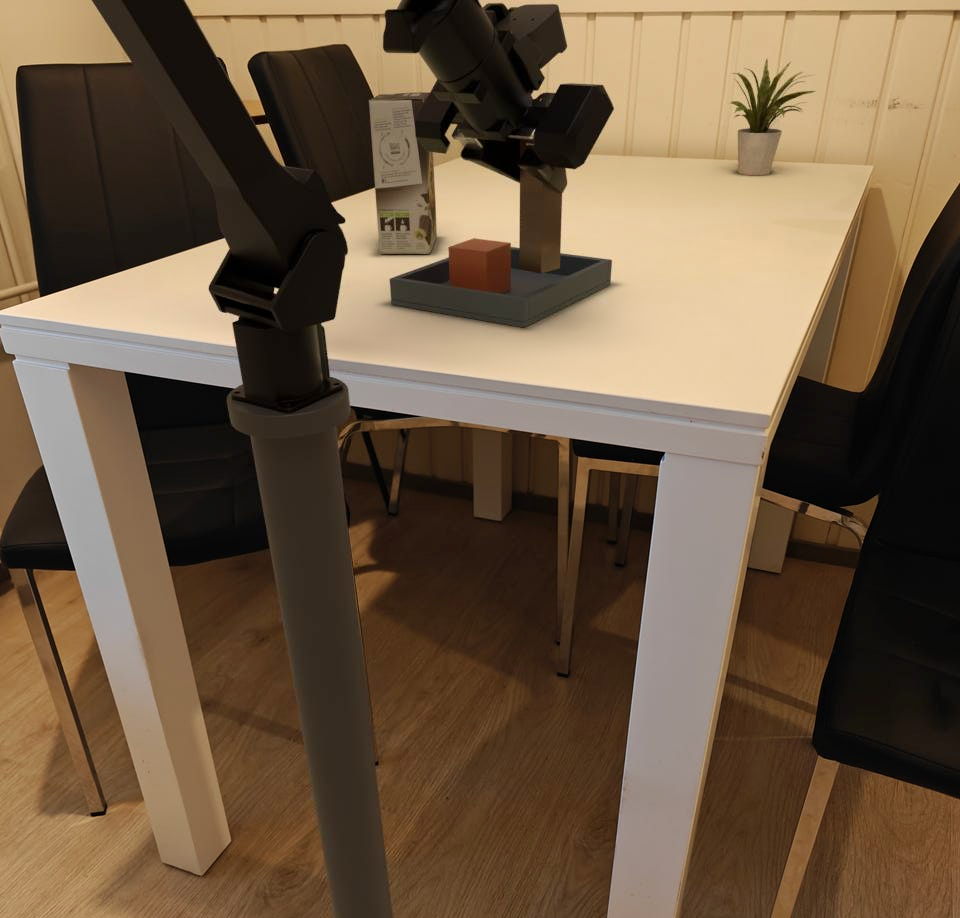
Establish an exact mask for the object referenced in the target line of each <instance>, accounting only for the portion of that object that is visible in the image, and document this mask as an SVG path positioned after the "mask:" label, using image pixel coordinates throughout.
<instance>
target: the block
mask: <svg viewBox="0 0 960 918" xmlns="http://www.w3.org/2000/svg"><path fill="white" fill-rule="evenodd" d="M511 247H512V243H511V242H507V241H500V240H499V241H498V240H491V239H482V238H475V237H474V238H471V239H468V240H465V241H462V242H459V243H456V244H453V245H450V246H448V258H449V274H450V286H455V287H461V288H467V289H474V290H480V291H487V292H493V293H499V294H502V293H504V292H506V291H509V290H511Z"/></svg>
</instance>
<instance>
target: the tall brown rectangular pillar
mask: <svg viewBox="0 0 960 918" xmlns="http://www.w3.org/2000/svg"><path fill="white" fill-rule="evenodd" d="M526 140H527V139H520V158H521V156H522V154H523V152H524V150H525V149H526V147H527V145H526V143H525V141H526ZM562 215H563V193H558V192H556V191H554V190H553V189H551V188H549V187H548V186H547V185H545V184H544V183H542V182H541V181H539V180H538V179H536V178H535V177H534V176H532V175H531V174H529V173H528V172H526V171H525V170H523V169H522V168H520V183H519V247H518V248H519V269H521V270H526V271H530V272H535V273H540V274H542V273H545V272H549V271H552V270H556V269H559V268H560V253H561V246H562V218H563V217H562Z"/></svg>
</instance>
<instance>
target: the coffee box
mask: <svg viewBox="0 0 960 918" xmlns="http://www.w3.org/2000/svg"><path fill="white" fill-rule="evenodd" d="M429 94H430V92H421V91H420V92H400V93H398V92H397V93H392V94H386V93H385V94H384V93H383V94H378V95H376V96H374V97H372V98H371V99H368V108H369V122H370V134H371V135H370V137H371V151H372V166H373V179H374V193H375V206H376V219H377V233H378V247H379V250H378V251H379V254H381V255H383V254H384V255H385V254H386V255H387V254H390V255H391V254H392V255H393V254H394V255H395V254H398V255H400V254H401V255H402V254H405V255H406V254H408V255H409V254H410V255H411V254H412V255H413V254H414V255H415V254H416V255H428V254H430V253H432V252H431V251H432V249H433V247H434V245H435V243H436V241H437V238H438V233H437V232H438V230H437V228H438V227H437V207H436V206H437V205H436V186H435V185H436V184H435V183H436V182H435V164H434V161H435V160H434V152H427V151H426V150H425V149H424V147H423V146H422V145H421V143H420V142H419V141H418V140H417V138H416V137H415V119H416V117H417V115H418V114H419V112H420V110H421V108H422V106H423V105H424V103H425V101H426V99H427V97H428V95H429Z"/></svg>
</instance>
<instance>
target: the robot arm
mask: <svg viewBox="0 0 960 918" xmlns="http://www.w3.org/2000/svg"><path fill="white" fill-rule="evenodd" d="M91 2H92V3H93V4H94V6H95V8H96V10H97V11H98V13H99V14H100V16H101V17H102V19H103V20H104V22H105V24H106V25H107V26H108V28H109V30H110V31H111V33H112V34H113V36H114V38H115V39H116V41H117V42H118V44H119V45H120V47H121V48H122V50H123V51H124V53H125V54H126V56H127V58H128V59H129V60H130V62H131V64H132V65H133V67H134V68H135V70H136V71H137V73H138V75H139V76H140V78H141V79H142V80H143V83H145V85H146V87H147V88H148V90H149V92H150V93H151V94H152V96H153V98H154V99H155V101H156V102H157V104H158V106H159V107H160V108H161V110H162V112H163V113H164V114H165V116H166V118H167V119H168V121H169V122H170V124H171V126H172V127H173V129H174V130H175V132H176V133H177V135H178V137H179V138H180V139H181V141H182V143H183V144H184V145H185V147H186V149H187V151H188V152H189V153H190V155H191V157H192V159H194V161H195V163H196V164H197V166H198V168H199V169H200V171H201V172H202V173H203V175H204V177H205V179H206V180H207V181H208V183H209V184H210V187H211V188H212V191H213V193H214V199H215V207H216V212H217V220H218V226H219V229H220V231H221V233H222V235H223V238H224V240H225V242H226V244H227V246H228V248H229V249H228V250H227V252H226V254H225V256H224V257H223V259H222V261H221V263H220V265H219V267H218V268H217V270H216V272H215V274H214V276H213V277H212V279H211V281H210V283H209V284H208V292H209V294H210V296H211V298H212V300H213V301H214V303H215V305H216V307H217V310H218V311H219V312H221V313H224V314H230V315H233V316H236V317H237V318H238V319H237V320H235V321H232V322H231V324H232V331H233V335H234V337H233V338H234V342H235V347H236V353H237V359H238V365H239V366H238V367H239V370H240V377H241V382H242V384H243V388H240V389H238V390H235V391H233V392H231V391H230V392H231V398H232V399H233V400H236V401H240V402H244V403H248V404H251V405H255V406H259V407H263V408H267V409H270V410H274V411H278V412H282V413H286V414H290V413H294V412H296V411H298V410H301V409H303V408H305V407H307V406H309V405H311V404H313V403H316V402H318V401H320V400H322V399H324V398H326V397H329V396H331V395H333V394H335V393H337V392H339V391H341V390H343V383H344V382H343V383H341V382H337V381H333V380H328V378H329V377H331V373H330V365H329V355H328V346H327V340H326V339H327V338H326V330H325V327H324V326H323V325H322V324H323V323H327V322H330V321H333V320H336V319H335V318H336V314H337V308H338V302H339V296H340V290H341V284H342V278H343V272H344V268H345V264H346V256H347V255H348V253H349V247H348V242H347V239H346V236H345V233H344V230H343V229H342V228H341V226H340V225H343V224H345V223H346V217H344V216H343V215H341V214H340V213H339V212H338V210H337V209H336V207H335V206H334V205H333V204H332V201H331V198H330V196H329V193H328V191H327V188H326V185H325V183H324V181H323V180H322V177H321V176H320V175H319V174H318V171H317V170H313V169H306V168H300V167H293V166H286V165H282V164H281V163H280V161H278V159H276V157H275V156H274V155H273V153H272V151H271V149H270V147H269V146H268V143H267V142H266V140H265V139H264V137H263V135H262V134H261V132H260V130H259V129H258V126H257V125H256V123H255V121H254V120H253V118H252V116H251V114H250V112H249V111H248V109H247V106H246V105H245V104H244V102H243V100H242V98H241V97H240V95H239V93H238V91H237V89H236V88H235V86H234V85H233V83H232V81H231V79H230V78H229V76H228V74H227V71H226V70H225V69H224V67H223V64H221V63H222V62H220V59H219V58H218V56H217V55H216V52H215V51H214V49H213V48H212V45H211V44H210V42H209V40H208V39H207V37H206V35H205V34H204V31H203V30H202V28H201V26H200V25H199V23H198V21H197V20H196V18H195V16H194V14H193V13H192V11H191V9H190V7H189V5H188V4H187V2H186V0H91ZM384 20H385V25H384V30H383V34H382V49H383V51H384V52H385V53H386V54H419V55H420V58H422V60H423V61H424V63H425V65H427V67H428V68H429V70H430V71H431V73H432V74H433V75H434V77H435V79H436V81H435V83H434V84H433V87H432V88H431V90H430V92H429V93H430V94H429V95H428V97H427V99H426V101H425V103H424V105H423V106H422V108H421V110H420V112H419V114H418V115H417V117H416V119H415V137H416V138H417V140H418V141H419V142H420V143H421V145H422V146H423V147H424V149H425V150H426V151H427V152H433V153H436V154H445V155H446V154H447V153H448V151H449V149H450V146H451V141H450V140H449V138H448V137H447V136H446V134H447V132H448V131H449V128H450V127H451V125H456V126H455V128H454V130H453V131H452V134H451V137H452V138H453V140H455V141H459V142H460V144H461V145H462V147H463V148H462V150H461V151H460V158H461V159H462V160H464V161H466V162H467V161H468V162H472V163H473V164H476V165H477V166H480V167H483V168H485V169H488V170H490V171H492V172H494V173H497V174H498V175H501V176H503V177H506V178H508V179H510V180H512V181H514V182H516V183H518V184H520V168H522V169H523V170H525V171H526V172H528V173H529V174H531V175H532V176H534V177H535V178H536V179H538V180H539V181H541V182H542V183H544V184H545V185H547V186H548V187H549V188H551V189H553V190H554V191H556V192H558V193H562V194H564V192H565V190H566V188H567V186H568V178H567V176H568V175H567V170H566V169H570V170H576V169H578V168H580V167H581V166H583V165H584V164H585V163H586V161H587V159H588V157H589V155H590V154H591V152H592V150H593V148H594V146H595V145H596V143H597V141H598V139H599V138H600V135H601V134H602V132H603V130H604V128H605V127H606V125H607V123H608V121H609V120H610V117H611V115H612V113H614V110H615V107H614V104H613V102H612V100H611V98H610V96H609V94H608V92H607V90H606V88H605V86H604V85H603V84H594V83H573V82H569V83H560V84H559V86H558V88H557V89H556V91H555V92H548V91H547V92H542V93H540V94H539V95H538V96H537V97H536V98H534V97H533V96H532V95H533V93H534V92H535V91H537V92H538V91H539V90H540V89H541V86H542V85H543V83H544V81H545V80H546V77H545V75H544V74H543V72H542V69H543V68H544V67H545V66H546V65H548V64H549V63H550V62H551V61H552V60H553V59H554V58H555V57H556V56H558V55H559V54H563V53H564V52H565V51H566V50H567V49H568V42H567V39H566V34H565V29H564V25H563V21H562V15H561V12H560V7H559V4H556V3H537V4H534V3H533V4H523V5H520V6H510V7H509V8H507V6H506V4H504V3H502V2H488V3H485V5H483V6H482V4H481V2H480V0H400V2H399V4H398V5H397V8H390V9H389V8H387V9H386V10H385V11H384ZM520 139H527V140H526V141H525V143H526V145H527V147H526V149H525V150H524V152H523V154H522V156H521V158H520ZM275 289H277V291H276V293H275Z"/></svg>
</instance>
